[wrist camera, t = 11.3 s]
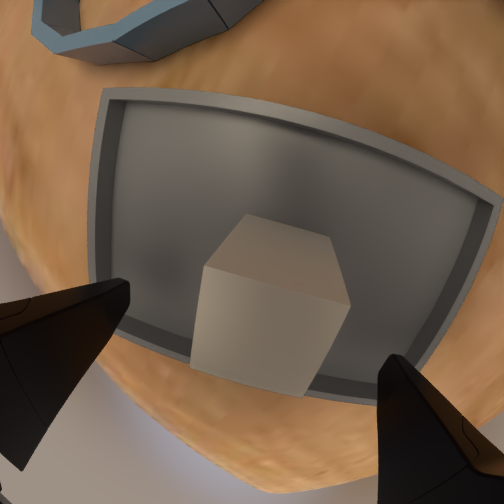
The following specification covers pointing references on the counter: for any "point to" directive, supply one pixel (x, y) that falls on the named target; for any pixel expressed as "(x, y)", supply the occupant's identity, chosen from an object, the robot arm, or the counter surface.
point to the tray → (281, 220)
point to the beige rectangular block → (269, 307)
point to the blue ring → (134, 29)
